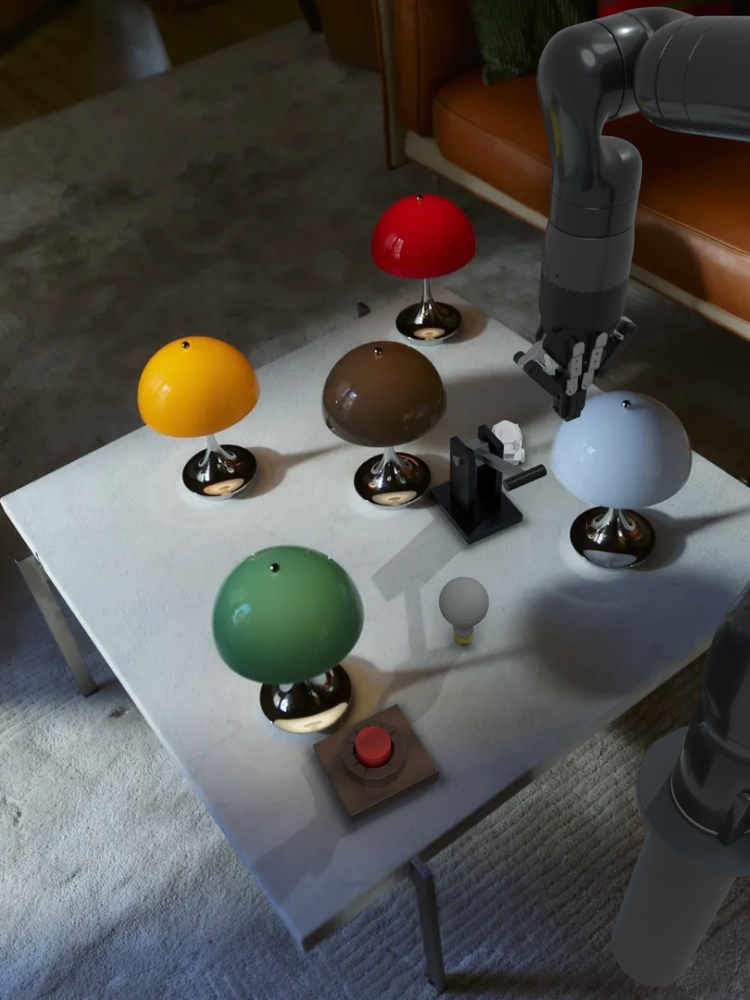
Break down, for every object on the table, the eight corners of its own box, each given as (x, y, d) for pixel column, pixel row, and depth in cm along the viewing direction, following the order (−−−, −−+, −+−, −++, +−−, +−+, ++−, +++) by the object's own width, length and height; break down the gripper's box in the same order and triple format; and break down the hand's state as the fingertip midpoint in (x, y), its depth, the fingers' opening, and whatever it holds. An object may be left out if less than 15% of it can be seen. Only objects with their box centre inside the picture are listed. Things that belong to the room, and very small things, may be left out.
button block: (439, 778, 97) (438, 762, 94) (352, 824, 94) (349, 808, 92) (397, 711, 103) (396, 694, 100) (314, 752, 100) (310, 735, 97)
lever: (548, 481, 106) (545, 461, 105) (511, 497, 105) (507, 478, 104) (490, 450, 118) (486, 433, 117) (455, 465, 116) (451, 447, 115)
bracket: (522, 520, 121) (528, 454, 112) (468, 544, 118) (470, 478, 110) (481, 473, 127) (483, 406, 118) (429, 495, 125) (427, 428, 116)
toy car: (489, 472, 127) (490, 449, 124) (485, 431, 132) (486, 409, 129) (525, 471, 127) (526, 448, 124) (520, 430, 132) (521, 408, 129)
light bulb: (430, 632, 109) (429, 579, 102) (471, 613, 111) (472, 559, 104) (454, 667, 106) (455, 614, 99) (496, 647, 108) (499, 593, 100)
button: (397, 757, 96) (397, 748, 94) (366, 773, 95) (365, 764, 93) (381, 729, 98) (380, 720, 97) (350, 744, 97) (349, 736, 96)
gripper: (546, 309, 77) (533, 461, 90) (675, 261, 81) (645, 413, 93) (496, 266, 82) (490, 416, 94) (621, 222, 85) (599, 372, 98)
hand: (567, 414), depth 94 cm, fingers closed
